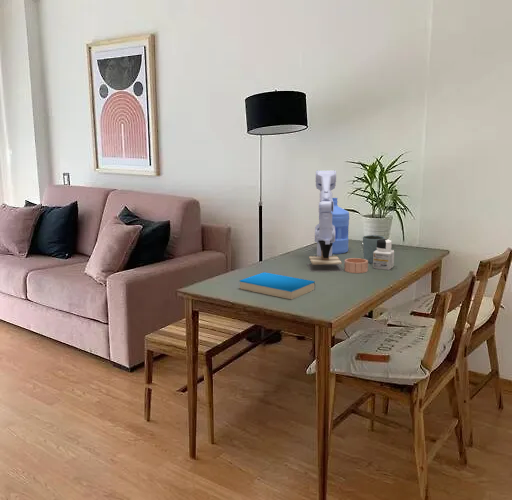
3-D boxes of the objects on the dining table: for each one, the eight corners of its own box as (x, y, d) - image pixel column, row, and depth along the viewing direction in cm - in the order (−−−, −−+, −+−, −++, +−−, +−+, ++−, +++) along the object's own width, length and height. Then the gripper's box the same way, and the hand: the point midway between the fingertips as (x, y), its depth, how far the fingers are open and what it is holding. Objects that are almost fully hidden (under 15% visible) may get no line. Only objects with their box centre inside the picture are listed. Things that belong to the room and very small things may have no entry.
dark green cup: (382, 259, 260) (383, 235, 258) (384, 264, 250) (386, 239, 248) (361, 259, 261) (361, 235, 259) (363, 263, 251) (363, 238, 249)
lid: (309, 257, 248) (309, 247, 247) (336, 257, 248) (337, 247, 247) (312, 264, 235) (312, 253, 234) (341, 264, 236) (342, 253, 235)
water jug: (313, 249, 285) (314, 197, 279) (340, 247, 289) (341, 196, 284) (325, 255, 270) (326, 200, 264) (353, 253, 275) (355, 199, 269)
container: (372, 268, 242) (373, 240, 240) (377, 264, 249) (378, 237, 246) (389, 270, 239) (390, 241, 236) (393, 266, 245) (394, 238, 243)
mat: (306, 265, 250) (306, 263, 250) (338, 264, 250) (338, 263, 250) (310, 272, 235) (310, 271, 235) (344, 272, 235) (344, 271, 235)
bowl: (342, 268, 242) (343, 258, 241) (364, 268, 242) (365, 257, 241) (346, 274, 232) (347, 263, 231) (369, 274, 232) (370, 263, 231)
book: (292, 290, 196) (238, 279, 210) (291, 302, 196) (238, 290, 211) (315, 280, 209) (264, 270, 224) (315, 291, 210) (264, 280, 224)
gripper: (314, 224, 246) (314, 253, 248) (318, 230, 231) (318, 260, 234) (329, 224, 246) (329, 253, 249) (335, 230, 232) (334, 260, 234)
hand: (325, 256), depth 241 cm, fingers closed on lid, 3 cm apart
